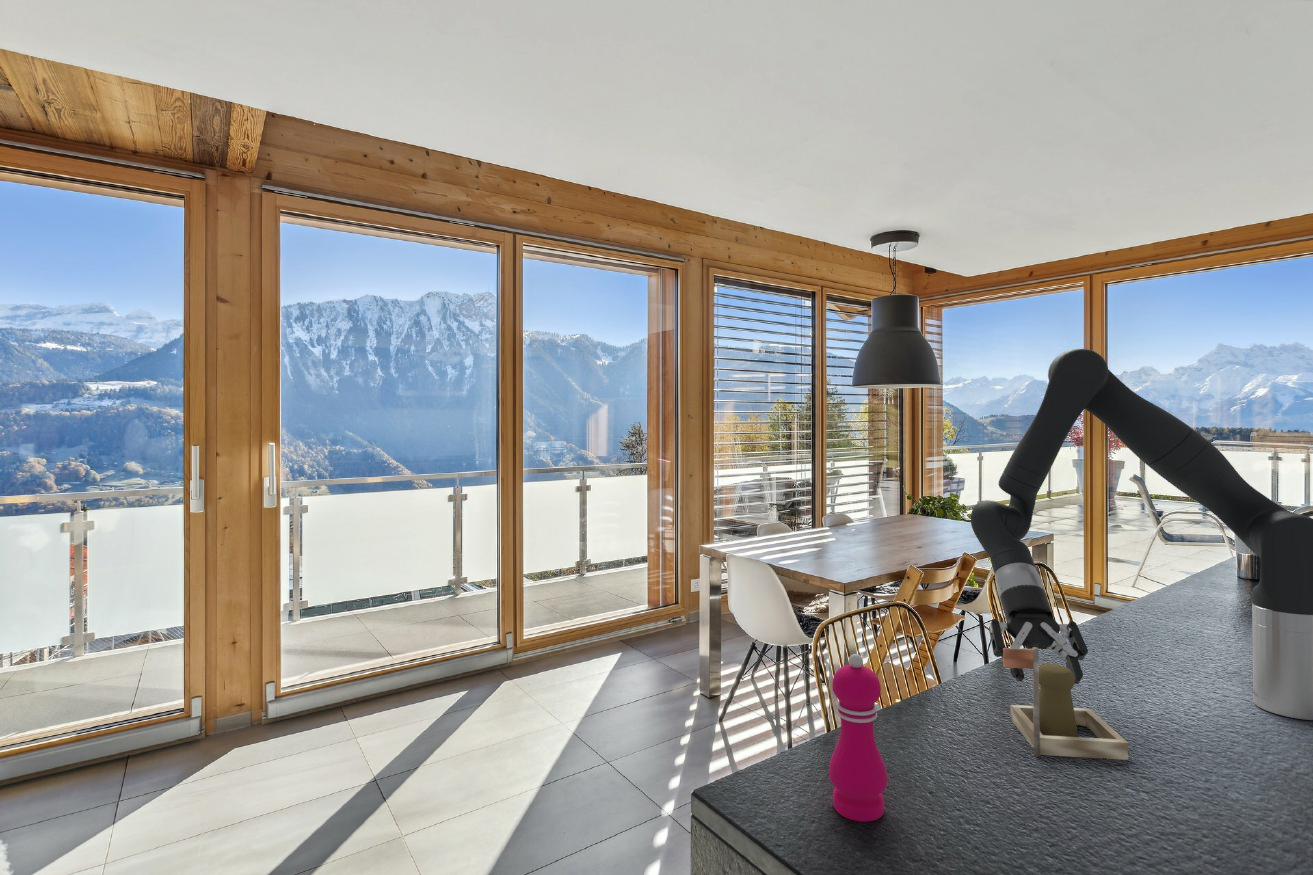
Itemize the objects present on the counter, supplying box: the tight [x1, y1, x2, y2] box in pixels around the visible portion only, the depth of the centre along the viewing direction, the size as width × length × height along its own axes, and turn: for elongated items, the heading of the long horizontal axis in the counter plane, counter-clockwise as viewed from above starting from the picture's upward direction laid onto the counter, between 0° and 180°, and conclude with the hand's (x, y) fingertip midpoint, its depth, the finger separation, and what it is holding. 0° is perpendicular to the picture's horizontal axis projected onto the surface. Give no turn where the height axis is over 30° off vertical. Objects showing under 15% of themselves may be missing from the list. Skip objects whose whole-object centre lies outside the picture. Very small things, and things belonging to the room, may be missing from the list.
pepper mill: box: [828, 653, 888, 823], centre depth 86 cm, size 7×7×20 cm
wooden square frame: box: [1002, 647, 1129, 761], centre depth 104 cm, size 17×13×16 cm
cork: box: [1039, 663, 1079, 737], centre depth 105 cm, size 6×6×11 cm
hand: (1048, 680), depth 110 cm, fingers open, 8 cm apart
